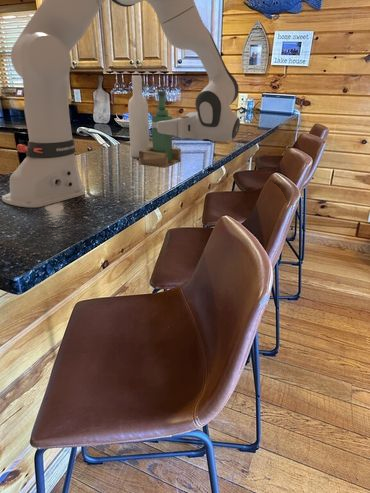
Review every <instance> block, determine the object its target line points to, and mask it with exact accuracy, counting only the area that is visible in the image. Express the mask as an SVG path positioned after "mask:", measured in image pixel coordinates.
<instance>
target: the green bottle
mask: <svg viewBox="0 0 370 493" xmlns="http://www.w3.org/2000/svg"><path fill="white" fill-rule="evenodd" d="M166 96H167V95H166V90H158V91H157V97H158V99H157V101H158V109H155V115H152V116H151V123H152V122H159V121H164V120H169V119H173V115H169V110H168V109H166ZM151 127H152V126H151ZM151 129H152V147H153V151H154V152H163V153H168V162H169V161H171V160H172V148H173V135H166V134H161V133H159V132H158V131H157V128H153V127H152V128H151Z"/></svg>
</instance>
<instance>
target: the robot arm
mask: <svg viewBox="0 0 370 493" xmlns="http://www.w3.org/2000/svg"><path fill="white" fill-rule="evenodd" d="M143 1H146V2H147V3H148V4H149V5H150V6H151V7H152V9H153V10H154V12H155V13H156V14H155V15H156V17H157V20H158V22H159V24H160V27H161V29H162V31H163V33H164V36H165V38H166V40H168V42H169V44H170V45H171V46H172V47H174V48H176V49H178V50H187V51H192V52H194V53H195V54H196V55H197V57H199V60H200V62H201V64H202V66H203V68H204V71H205V72H206V74H207V76H208V84H207V85H206V86H205V87H204V88H203V89H202V90H201V91H200V92H199V93H198V95H197V96H196V97H195V102H194V103H195V104H194V105H195V110H196V112H195V111H194V112H193V111H190V112H188V113H187V114H185V115H184V116H180V117H175V118H172V119H169V120H164V121H159V122H152V121H151V127H153V128H157V131H158V132H159V133H161V134H166V135H172V137H173V136H174V137H178V139H188V140H189V139H190V140H201V141H203V139H209V140H211V141H210V142H229V141H233V140H234V139H235V138H236V137H237V135H238V133H239V130H240V125H241V120H240V119H241V118H240V117H239V116H237V115H236V114H235V113H234V111H233V109H232V107H231V105H232V104H233V103H234V102H235V101H236V100H237V98H238V96H239V92H240V91H239V90H240V89H239V84H238V81H237V80H236V78H235V77H234V76H233V74H232V73H231V72H230V70H228V68H227V66H226V64H225V62H224V60H223V57H222V55H221V52H220V51H219V48H218V47H217V44H216V43H215V41H214V38H213V36H212V34H211V33H210V30H208V28H207V26H205V23H204V22H203V20H202V17H201V16H200V13H199V10H198V7H197V5H196V3H195V0H111V2H113V3H114V4H116V5H118V6H119V7H120V6H121V7H123V8H125V7H127V8H128V7H129V8H130V7H133V6H135V5H136V4H138V3H141V2H143ZM104 2H105V0H43V1H42V2H41V4H40V5H39V7H38V8H37V9H36V11H35V13H34V14H33V15H32V16H31V19H30V20H29V21H28V23H27V24H26V25H25V27H24V29H23V30H22V32H21V33H20V35H19V36H18V37H17V40H16V41H15V42H14V44H13V45H12V49H11V52H10V60H11V63H12V66H13V68H14V70H15V72H16V74H18V76H19V77H20V78H22V84H23V98H24V99H23V100H24V101H23V102H24V103H23V104H24V108H23V112H24V117H25V123H26V128H27V133H28V139H29V140H28V141H27V145H26V144H21V143H19V144H17V146H16V150H17V151H18V153H25V155H26V157H25V158H24V159H23V161H22V162H21V163H20V164H19V165H18V166H17V168H16V169H15V170H14V171H13V173H11V175H10V177H9V182H8V183H9V192H8V193H6V194H4V195H1V200H2V202H4V203H5V204H8V205H12V206H16V207H21V208H22V207H23V208H41V207H45V206H48V205H51V204H52V205H53V204H56V203H60V202H62V201H65V200H70V199H73V198H76V197H80V196H81V197H82V196H84V195H86V192H85V186H84V184H83V181H82V178H81V176H80V170H79V167H78V162H77V158H76V156H75V154H76V151H77V150H76V144H75V140H74V138H73V134H72V125H71V118H70V108H69V105H70V104H69V102H70V98H69V97H70V71H71V67H72V66H71V65H72V59H71V54H70V53H71V51H72V49H73V48H74V47H75V46H76V45H77V44H78V42H80V40H81V39H82V38H84V36H85V34H86V33H87V30H88V29H89V27H90V25H91V24H92V22H93V21H94V19H95V18H96V16H97V14H98V12H99V11H100V9H101V8H102V6H103V3H104Z"/></svg>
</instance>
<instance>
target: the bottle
mask: <svg viewBox="0 0 370 493" xmlns="http://www.w3.org/2000/svg"><path fill="white" fill-rule="evenodd" d="M142 77H143V76H141V75H131V83H132V84H131V85H132V86H131V87H132V88H131V89H132V96H131V97H130V98H129V100H128V104H127V108H128V110H127V111H128V125H129V126H128V127H129V143H130V144H129V145H130V148H129V149H130V157H131V158H136V159H139V151H141V150H144V149H147V148H150V125H149V104H148V101H147V99H146V98H145V97H144V96H143V79H142Z"/></svg>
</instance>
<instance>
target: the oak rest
mask: <svg viewBox="0 0 370 493" xmlns="http://www.w3.org/2000/svg"><path fill="white" fill-rule="evenodd" d="M181 152H182V150H181V148H179V147H172V160H171V161H169V162H168V153H163V152H154V151H153V146H152V147H149V148H147V149H144V150H141V151H139V158H138V159H139V165H140V166H147V167H155V168H162V169H165V168H169V167H171V166H174V165H176V164H179V163H181V162H182V160H181V157H182V156H181V155H182V153H181Z"/></svg>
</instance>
